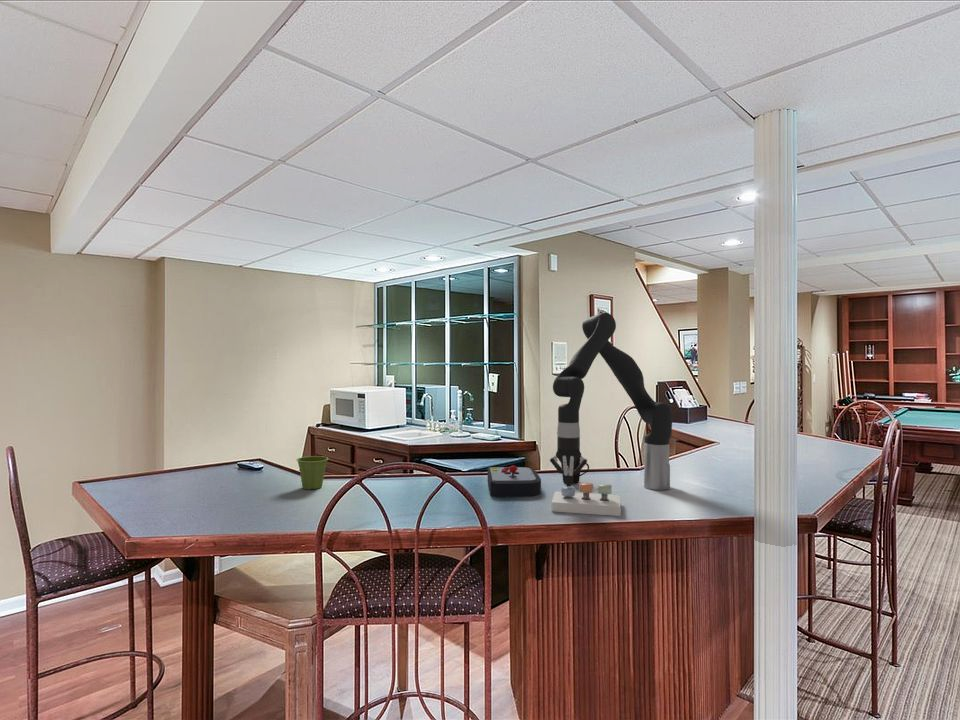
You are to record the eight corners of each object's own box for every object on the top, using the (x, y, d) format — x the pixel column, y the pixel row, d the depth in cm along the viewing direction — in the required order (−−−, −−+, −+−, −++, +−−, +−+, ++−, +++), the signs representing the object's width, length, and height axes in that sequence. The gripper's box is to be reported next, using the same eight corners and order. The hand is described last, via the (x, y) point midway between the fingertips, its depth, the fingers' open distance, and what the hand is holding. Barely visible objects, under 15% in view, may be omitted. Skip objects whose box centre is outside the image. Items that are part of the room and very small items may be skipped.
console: (619, 503, 182) (619, 495, 182) (620, 515, 168) (620, 506, 168) (555, 499, 187) (555, 491, 187) (551, 511, 173) (551, 502, 173)
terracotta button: (593, 499, 179) (593, 482, 179) (593, 503, 175) (593, 486, 175) (579, 498, 180) (579, 482, 180) (578, 502, 176) (579, 485, 176)
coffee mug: (556, 480, 215) (556, 456, 215) (573, 478, 219) (573, 454, 219) (572, 487, 205) (572, 461, 205) (590, 484, 208) (590, 459, 208)
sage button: (611, 500, 178) (611, 483, 178) (611, 504, 173) (611, 487, 173) (597, 499, 179) (597, 483, 179) (597, 503, 174) (597, 486, 174)
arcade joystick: (543, 497, 191) (543, 470, 191) (490, 498, 190) (490, 470, 190) (533, 479, 219) (533, 455, 219) (487, 479, 218) (487, 455, 218)
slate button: (575, 502, 181) (575, 486, 180) (574, 506, 176) (574, 489, 176) (561, 501, 182) (561, 485, 181) (560, 505, 177) (560, 489, 177)
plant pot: (323, 491, 198) (323, 461, 197) (291, 491, 198) (291, 461, 198) (332, 484, 209) (332, 455, 209) (303, 483, 210) (302, 455, 210)
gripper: (588, 434, 181) (588, 484, 181) (550, 433, 184) (550, 482, 184) (588, 437, 173) (588, 489, 174) (547, 436, 176) (548, 487, 177)
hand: (568, 486), depth 179 cm, fingers closed
